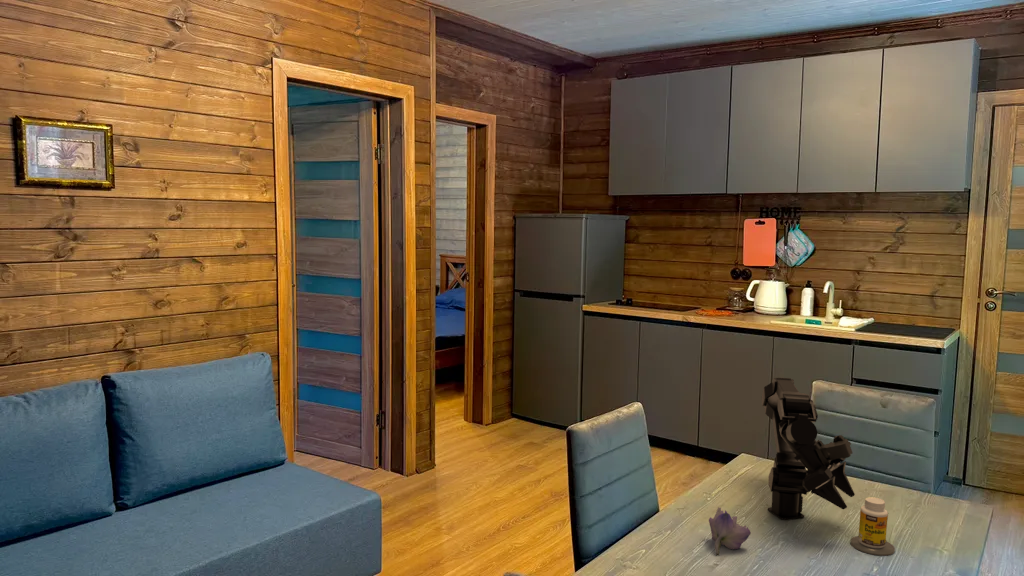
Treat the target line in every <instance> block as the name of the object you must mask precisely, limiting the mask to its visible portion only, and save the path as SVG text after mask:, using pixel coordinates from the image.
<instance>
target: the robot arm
mask: <svg viewBox="0 0 1024 576" xmlns="http://www.w3.org/2000/svg"><path fill="white" fill-rule="evenodd" d="M761 406H762V407H763V408H764V414H765V415H766V416H767V417H768V418H769V419H771V420H772V427H773V435H774V442H775V448H776V454H775V457H774V461H773V466H772V467H771V468H770V471H769V475H768V483H767V484H768V488H769V490H770V492H771V493H772V494H771V506H770V507H767V511H769V512H770V513H772V514H773V515H775V517H777V518H778V519H780V520H795V519H804V518H805V517H806V515H805V514H803V513H802V512H803V503H804V497H803V495H805V496H806V495H807V494H808V493H811V494H812V495H813V494H814V495H816V496H818V497H820V498H821V499H823V500H826V501H828V502H829V503H831V504H832V505H835V506H836V507H838V508H840V509H841V510H846V509H847V508H848V505H847V503H846V502H845V500H844V498H843V497H842V495H841V494H840V492H839V490H840V491H842V492H843V493H844V494H846V495H847V496H849V497H850V498H852V497H854V496H856V493H855V491H854V490H853V487H852V484H851V483H850V481H849V479H848V477H847V473H846V472H845V468H846V465H847V462H846V461H845V460H846V459H848V458H850V457H851V455H852V454H853V450H852V447H851V445H852V443H851V442H850V441H849V440H848V438H845V437H844V436H843V434H840V435H835V436H834V437H833V441H831V442H829V443H826V444H824V443H823V441H822V440H820V439H817V437H818V429H817V426H816V425H815V423H816V422H817V420H818V412H817V408H816V407H817V406H816V405H815V403H814V400H813V399H811V396H810V395H809V394H807V393H804V392H799V390H798V388H797V387H796V385H795V381H794V379H792V378H790V377H779V376H777V377H775V378H774V377H773V378H772V381H771V382H770V383H768V384H767V385H765V386H764V387H763V389H762V393H761ZM816 439H817V440H816ZM837 488H838V489H839V490H838V489H837Z"/></svg>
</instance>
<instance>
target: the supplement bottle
mask: <svg viewBox="0 0 1024 576" xmlns="http://www.w3.org/2000/svg"><path fill="white" fill-rule="evenodd" d="M885 507H886V502H885V500H884V499H881V498H878V497H874V496H873V497H872V496H871V497H866V498H865V500H864V504H863V505H862V506H861V507H860V512H859V525H858V535H857V536H858V540H859V542H860V543H861V544H863V545H864V546H867V547H870V548H883V547H884V546H885V542H886V541H887V540H886V538H887V531H888V530H887V528H888V518H889V513H888V510H887V509H885Z"/></svg>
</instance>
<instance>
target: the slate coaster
mask: <svg viewBox="0 0 1024 576" xmlns="http://www.w3.org/2000/svg"><path fill="white" fill-rule="evenodd" d="M849 542H850V543H849V544H850V545H851V546H852V547H853V548H854V549H856V550H858V551H859V552H862V553H865V554H867V555H872V556H877V557H882V556H884V557H887V556H891V555H893V554H895V552H896V551H895V550H896V548H895V546H894V545H893V544H892V543H891V542H888V541H887V540H886V542H885V546H884V547H883V548H870V547H867V546H864V545H863V544H861V543H860V542H859V540H858V535H856V536H853V537H851V538H850V541H849Z"/></svg>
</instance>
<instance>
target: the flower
mask: <svg viewBox="0 0 1024 576" xmlns="http://www.w3.org/2000/svg"><path fill="white" fill-rule="evenodd" d="M737 519H738V516H731V514H730V513H728V511H727V510H722V507H718V508H717V510H716V511H715V514H714V517H711V516H710V517H709V518H708V524H709V527H710V533H711V539H712V540H713V541H714V550H715V555H716V556H717V555H719V556H720V549H721V546H722V545H723V546H725V547H726V548H727V549H729V550H733V549H735V550H739V549H741V546H742V544H744V543H745V542H746V541H747V540H748V539H749V537H750V536H751V534H752V533H751V530H750V529H749V527H748V526H747V525H744V526H742V525H740V524H739V523H737V521H738V520H737Z"/></svg>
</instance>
